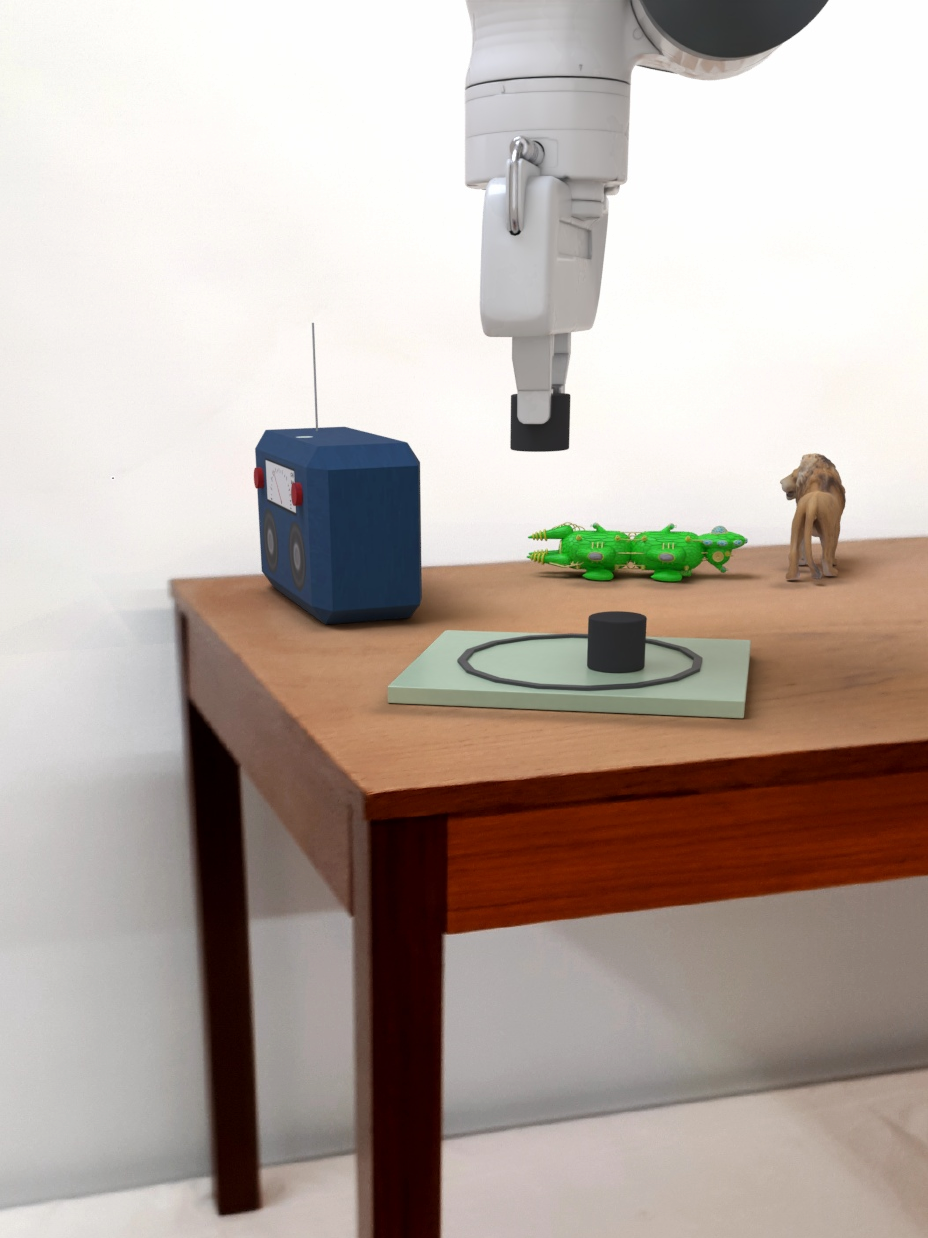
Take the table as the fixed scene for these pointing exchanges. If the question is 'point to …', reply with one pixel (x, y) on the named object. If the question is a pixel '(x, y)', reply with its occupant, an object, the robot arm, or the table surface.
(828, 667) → the table surface
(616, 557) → the green toy spaceship
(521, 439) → the eye dot
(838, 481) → the lion figurine
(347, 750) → the table surface
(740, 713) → the board
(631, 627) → the eye dot
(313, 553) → the radio
